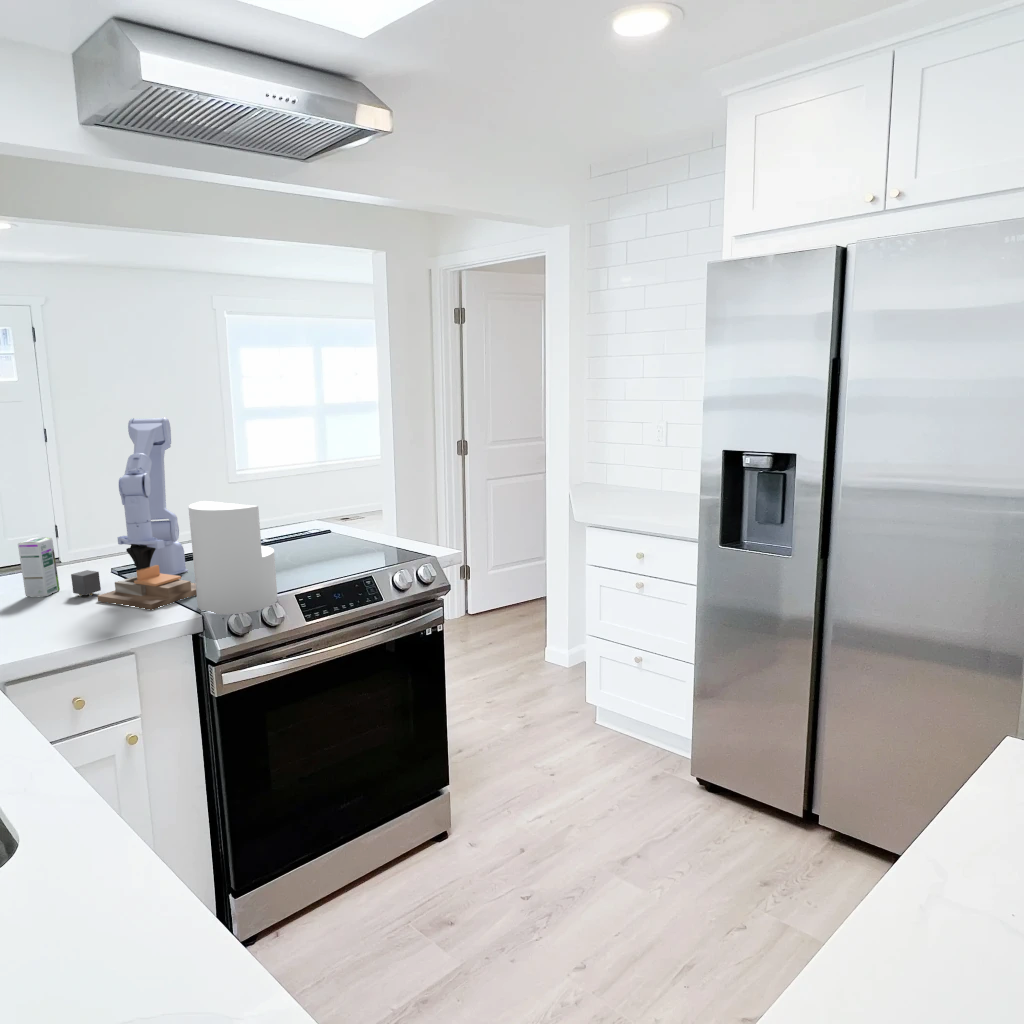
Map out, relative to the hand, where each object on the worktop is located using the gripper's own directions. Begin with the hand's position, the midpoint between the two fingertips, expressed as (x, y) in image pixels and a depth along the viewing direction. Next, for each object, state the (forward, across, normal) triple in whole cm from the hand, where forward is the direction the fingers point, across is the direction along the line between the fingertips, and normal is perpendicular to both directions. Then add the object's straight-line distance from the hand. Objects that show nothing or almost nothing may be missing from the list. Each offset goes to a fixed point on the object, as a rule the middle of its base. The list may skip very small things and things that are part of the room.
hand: (143, 573), depth 200 cm
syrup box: (+6, -26, -10) cm, 29 cm away
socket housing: (+6, +3, 0) cm, 6 cm away
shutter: (+1, +5, 0) cm, 5 cm away
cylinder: (+6, +28, +4) cm, 29 cm away
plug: (+6, -16, -6) cm, 18 cm away
